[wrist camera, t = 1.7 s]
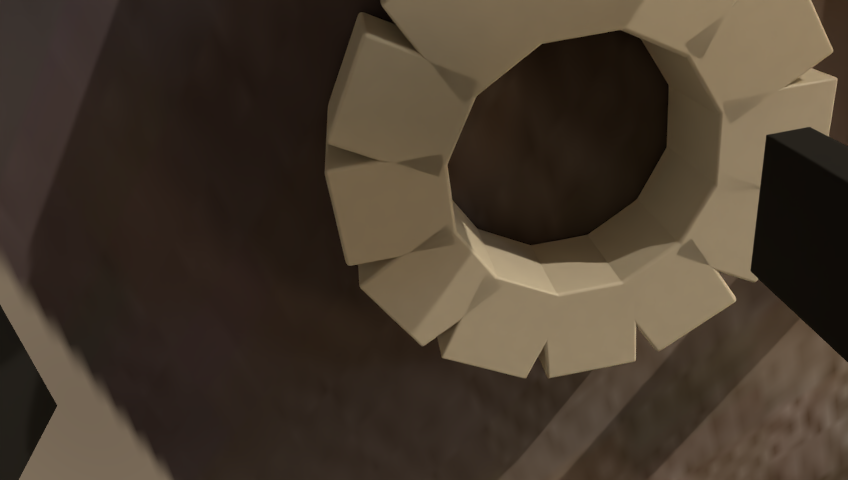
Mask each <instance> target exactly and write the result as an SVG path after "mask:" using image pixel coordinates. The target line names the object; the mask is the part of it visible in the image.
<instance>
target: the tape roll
mask: <svg viewBox="0 0 848 480" xmlns="http://www.w3.org/2000/svg"><path fill="white" fill-rule="evenodd" d="M380 3H381V5H382V8H383V9H384V10H385V11H386V13H387V14H388V15H389V16H390V18H391V19H392V20H393V21H394V23H395V24H396V25H395V24H393V23H390V22H388V21H385V20H382V19H380V18H377V17H375V16H372V15H369V14H367V13H364V12H360V13H359V14H358V16H357V19H356V22H355V25H354V28H353V31H352V34H351V37H350V40H349V43H348V46H347V49H346V52H345V55H344V58H343V61H342V64H341V67H340V70H339V73H338V76H337V79H336V82H335V85H334V88H333V91H332V94H331V97H330V100H329V103H328V112H327V134H326V153H325V178H326V182H327V186H328V190H329V194H330V199H331V203H332V207H333V211H334V215H335V220H336V224H337V228H338V232H339V236H340V241H341V245H342V249H343V253H344V257H345V262H346V264H347V265H348V266H353V265H358V270H359V286H360V288H361V289H362V290H363V291H364V292H365V293H366V294H367V295H368V296H369V297H370V298H371V299H372V300H373V301H374V302H375V303H376V304H378V305H379V306H380V307H381V308H382V309H383V310H384V311H385V312H386V313H387V314H388V315H389V316H390V317H391V318H392V319H393V320H394V321H395V322H396V323H397V324H399V325H400V326H401V327H402V328H403V329H404V330H405V331H406V332H407V333H408V334H409V335H410V336H411V337H412V338H413V339H414V340H415V341H416V342H417V343H418V344H420V345H421V346H425V345H426V344H428V343H429V342H430V341H432V340H433V339H435V338H436V337H437V339H438V343H439V348H440V352H441V357H442V358H444V359H448V360H452V361H456V362H460V363H464V364H468V365H472V366H476V367H480V368H484V369H488V370H492V371H496V372H500V373H504V374H508V375H512V376H516V377H520V378H526V377H527V375H528V374H529V372H530V370H531V368H532V366H533V365H534V363H535V361H536V359H537V357H539V360H540V362H541V364H542V367H543V369H544V371H545V373H546V376H547V377H548V378H554V377H559V376H564V375H569V374H574V373H580V372H585V371H590V370H595V369H600V368H605V367H611V366H616V365H621V364H626V363H631V362H634V361H635V360H636V327H637V328H638V329H639V331H640V332H641V333H642V334H643V336H644V337H645V338H646V339H647V341H648V342H649V343H650V344H651V346H652V347H653V348H654V349H655V350H656V351H661V350H662V349H664V348H665V347H667V346H669V345H670V344H672V343H673V342H675V341H676V340H678V339H679V338H681V337H682V336H684V335H685V334H687V333H688V332H690V331H692V330H693V329H695V328H696V327H698V326H699V325H701V324H702V323H704V322H705V321H707V320H708V319H710V318H711V317H713V316H715V315H716V314H718V313H719V312H721V311H722V310H724V309H725V308H727V307H728V306H730V305H731V304H733V303H734V302H735V301H736V298H735V296H734V294H733V293H732V291H731V290H730V288H729V287H728V285H727V284H726V282H725V281H724V279H723V278H722V276H721V275H720V273H719V272H722V273H725V274H728V275H731V276H734V277H737V278H740V279H743V280H746V281H750V282H756V281H757V280H758V278H757V277H756V276H755V275H754V274H753V273H752V272H751V271H750V270H751V261H752V253H753V244H754V235H755V227H756V218H757V210H758V201H759V193H760V184H761V176H762V167H763V159H764V150H765V142H766V135H768V134H774V133H779V132H784V131H790V130H795V129H801V128H806V127H811V128H813V129H815V130H817V131H819V132H821V133H823V134H825V135H827V136H829V131H830V125H831V119H832V112H833V106H834V99H835V93H836V87H837V78H836V77H834V76H831V75H828V74H826V73H823V72H820V71H818V70H815V69H812V67H814V66H815V65H817V64H818V63H819V62H821V61H822V60H824V59H825V58H826V57H828V56H829V55H830V54H832V52H833V48H832V46H831V44H830V42H829V39H828V37H827V35H826V33H825V31H824V28H823V26H822V24H821V22H820V19H819V17H818V15H817V13H816V10H815V8H814V6H813V4H812V2H811V0H380ZM618 30H622V31H624V32H626V33H629V34H631V35H633V36H636V37H638V38H640V39H641V40H642V42H643V43H644V45H645V47H646V48H647V50H648V52H649V53H650V55H651V57H652V58H653V60H654V62H655V63H656V65H657V67H658V68H659V70H660V72H661V73H662V75H663V77H664V78H665V80H666V82H667V83H668V85H669V92H668V123H667V147H666V149H665V151H664V153H663V154H662V156H661V158H660V160H659V161H658V163H657V165H656V167H655V168H654V170H653V172H652V174H651V175H650V177H649V179H648V181H647V182H646V184H645V186H644V188H643V190H642V191H641V193H640V195H639V197H638V198H637V200H635V201H634V202H633V203H631V204H630V205H628V206H627V207H626V208H624V209H623V210H621V211H620V212H619V213H617V214H616V215H614V216H613V217H612V218H610V219H609V220H607V221H606V222H605V223H603V224H602V225H600V226H599V227H598V228H596V229H595V230H593V231H592V232H591V233H589V234H588V235H583V236H578V237H573V238H567V239H562V240H557V241H551V242H546V243H541V244H535V245H528V244H525V243H522V242H518V241H515V240H512V239H509V238H506V237H502V236H499V235H496V234H493V233H489V232H486V231H483V230H480V229H477V228H476V227H475V225H474V224H473V223H472V222H471V221H470V220H469V219H468V217H467V216H466V215H465V214H464V213H463V212H462V211H461V209H460V208H459V207H458V206H457V205H456V204H455V203H454V201H453V200H452V194H451V187H450V180H449V173H448V166H447V164H448V162H449V159H450V157H451V155H452V152H453V150H454V148H455V145H456V143H457V141H458V138H459V136H460V134H461V131H462V129H463V127H464V124H465V122H466V120H467V117H468V115H469V113H470V110H471V108H472V106H473V103H474V101H475V99H476V96H477V95H479V94H480V93H481V92H482V91H484V90H485V89H486V88H487V87H489V86H490V85H491V84H492V83H494V82H495V81H496V80H497V79H499V78H500V77H501V76H502V75H504V74H505V73H506V72H507V71H509V70H510V69H511V68H512V67H514V66H515V65H516V64H517V63H519V62H520V61H521V60H522V59H524V58H525V57H526V56H527V55H529V54H530V53H531V52H532V51H533V50H535V49H536V48H537V47H538V46H540V45H541V44H544V43H550V42H556V41H561V40H567V39H572V38H578V37H584V36H589V35H595V34H601V33H606V32H612V31H618ZM718 271H719V272H718Z"/></svg>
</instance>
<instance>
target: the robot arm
mask: <svg viewBox="0 0 848 480" xmlns="http://www.w3.org/2000/svg"><path fill="white" fill-rule="evenodd" d="M750 271H751V272H752V273H753V274H754V275H755V276H756V277H757V278H758V279H759V280H760V281H761V282H762V283H764V284H765V285H766V286H767V287H768V288H769V289H770V290H771V291H772V292H773V293H774V294H775V295H776V296H777V297H779V298H780V299H781V300H782V301H783V302H784V303H785V304H786V305H787V306H788V307H789V308H790V309H791V310H792V311H794V312H795V313H796V314H797V315H798V316H799V317H800V318H801V319H802V320H803V321H804V322H805V323H806V324H807V325H808V326H810V327H811V328H812V329H813V330H814V331H815V332H816V333H817V334H818V335H819V336H820V337H821V338H822V339H823V340H825V341H826V342H827V343H828V344H829V345H830V346H831V347H832V348H833V349H834V350H835V351H836V352H837V353H838V354H839V355H841V356H842V357H843V358H844V359H845V360H846V361H847V362H848V146H846V145H844V144H842V143H840V142H838V141H836V140H834V139H832V138H830V137H829V136H827V135H825V134H823V133H821V132H819V131H817V130H815V129H813V128H811V127H806V128H801V129H795V130H790V131H784V132H779V133H774V134H768V135H766V142H765V150H764V159H763V167H762V176H761V184H760V193H759V201H758V210H757V218H756V227H755V235H754V244H753V253H752V261H751V270H750ZM56 407H57V405H56V403H55V401H54V399H53V397H52V396H51V394H50V392H49V390H48V389H47V387H46V385H45V384H44V382H43V380H42V378H41V376H40V375H39V373H38V371H37V369H36V367H35V366H34V364H33V362H32V360H31V359H30V357H29V355H28V353H27V351H26V350H25V348H24V346H23V344H22V343H21V341H20V339H19V337H18V336H17V334H16V332H15V330H14V329H13V327H12V325H11V323H10V322H9V320H8V318H7V316H6V314H5V313H4V311H3V309H2V307H1V305H0V480H19V478H20V476H21V474H22V472H23V470H24V468H25V466H26V464H27V462H28V461H29V459H30V457H31V455H32V453H33V451H34V449H35V447H36V445H37V443H38V441H39V439H40V438H41V435H42V434H43V432H44V430H45V428H46V426H47V424H48V422H49V420H50V418H51V416H52V415H53V413H54V411H55V409H56Z"/></svg>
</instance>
